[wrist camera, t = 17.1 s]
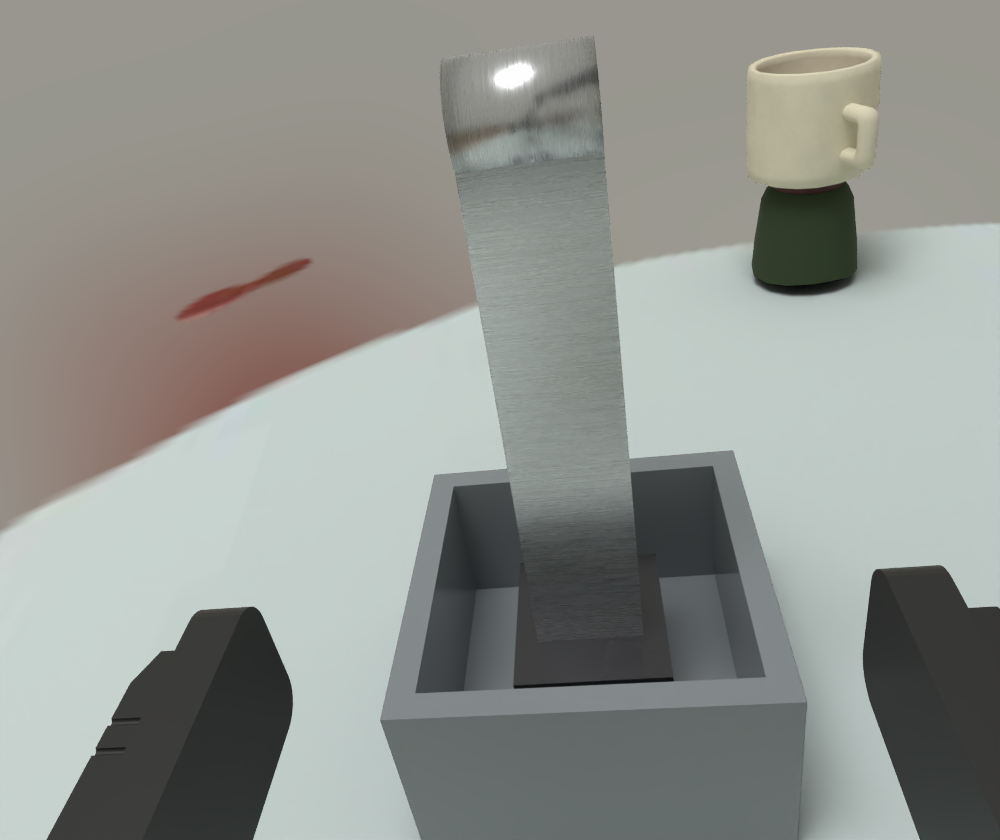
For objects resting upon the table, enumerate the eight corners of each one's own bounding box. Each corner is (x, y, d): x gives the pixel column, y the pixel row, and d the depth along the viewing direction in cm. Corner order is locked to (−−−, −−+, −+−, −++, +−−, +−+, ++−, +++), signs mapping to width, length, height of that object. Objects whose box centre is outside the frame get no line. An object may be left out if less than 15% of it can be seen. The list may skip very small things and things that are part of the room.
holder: (462, 594, 34) (434, 474, 30) (733, 577, 32) (733, 450, 29) (425, 851, 25) (380, 719, 22) (797, 844, 23) (806, 702, 20)
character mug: (910, 291, 50) (939, 58, 43) (805, 322, 48) (817, 87, 41) (800, 238, 59) (809, 38, 52) (709, 263, 57) (706, 61, 50)
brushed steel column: (531, 625, 30) (425, 44, 20) (659, 617, 30) (619, 13, 19) (526, 750, 26) (388, 89, 16) (677, 743, 25) (637, 52, 15)
